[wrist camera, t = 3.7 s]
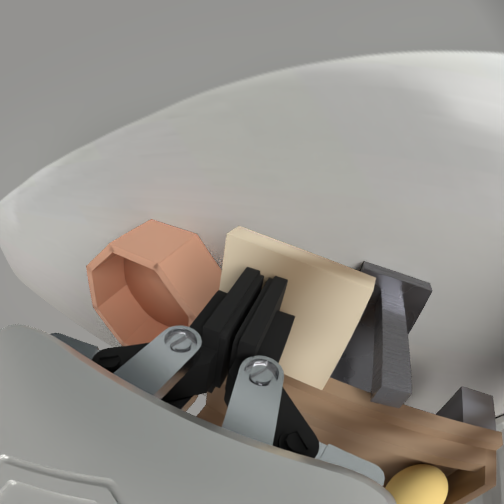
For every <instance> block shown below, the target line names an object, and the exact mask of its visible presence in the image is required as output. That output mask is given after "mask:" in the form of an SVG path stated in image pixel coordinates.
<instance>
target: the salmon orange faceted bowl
mask: <svg viewBox="0 0 504 504" xmlns="http://www.w3.org/2000/svg"><path fill="white" fill-rule="evenodd" d="M86 268H87V275H88V281H89V287H90V293H91V299H92V304H93V308H94V309H95V311H96V312H97V313H98V315H99V316H100V318H101V319H102V320H103V322H104V323H105V324H106V326H107V327H108V328H109V330H110V331H111V332H112V333H113V335H114V336H115V337H116V339H117V340H118V341H119V342H120V344H121V345H122V346H129V345H136V344H143V343H149V342H151V341H152V340H154V339H155V338H156V337H157V336H158V335H159V334H161V333H162V332H163V331H164V330H166V329H167V328H169V327H172V326H180V325H182V326H188V327H189V326H190V325H191V324H192V322H193V321H194V320H195V319H196V317H197V316H198V315H199V314H200V312H201V311H202V310H203V309H204V307H205V306H206V305H207V303H208V302H209V301H210V300H211V298H212V297H213V296H214V295H215V293H216V292H217V291H219V287H220V280H221V272H222V270H221V269H220V267H219V266H218V264H217V263H216V262H215V260H214V259H213V257H212V256H211V254H210V253H209V251H208V250H207V248H206V247H205V245H204V244H203V242H202V241H201V239H200V238H199V236H198V235H197V234H195V233H192V232H189V231H186V230H183V229H180V228H177V227H174V226H171V225H168V224H165V223H161V222H158V221H155V220H152V219H151V220H149V221H147V222H145V223H144V224H142V225H140V226H138V227H136V228H135V229H133V230H131V231H130V232H128V233H126V234H124V235H123V236H121V237H119V238H118V239H116V240H114V241H112V242H111V243H109V245H107V246H106V247H105V248H104V249H103V250H102V251H101V252H100V253H99V254H98V255H97V256H96V257H95V258H94V259H93V260H92V261H91V262H90V263H89V264H88V265H87V266H86Z"/></svg>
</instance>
